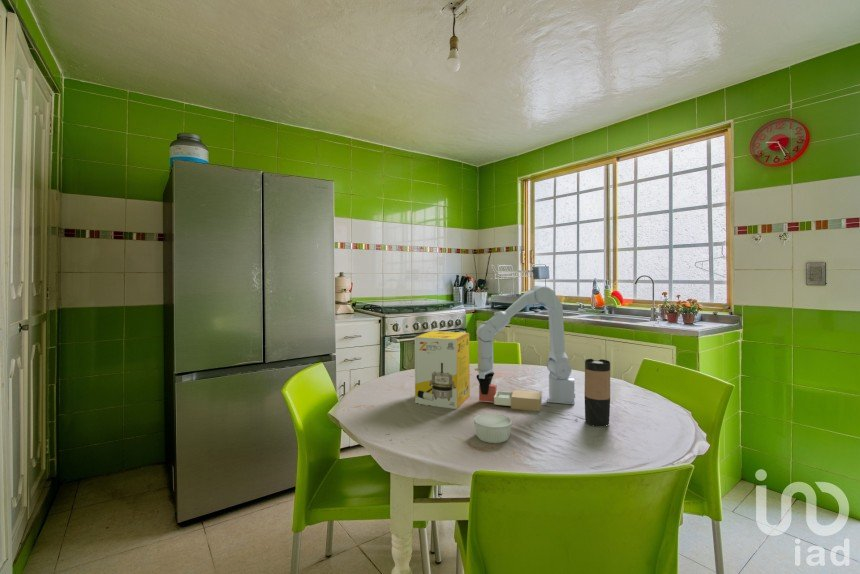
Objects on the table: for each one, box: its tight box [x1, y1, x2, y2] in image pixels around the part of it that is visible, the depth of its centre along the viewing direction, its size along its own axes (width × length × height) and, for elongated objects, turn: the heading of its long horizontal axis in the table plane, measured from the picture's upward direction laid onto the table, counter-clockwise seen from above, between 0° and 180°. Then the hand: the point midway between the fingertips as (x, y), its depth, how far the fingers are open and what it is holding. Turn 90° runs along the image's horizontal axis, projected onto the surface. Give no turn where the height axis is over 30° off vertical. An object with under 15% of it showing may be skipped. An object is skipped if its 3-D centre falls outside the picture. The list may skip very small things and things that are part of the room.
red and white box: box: [478, 383, 513, 407], centre depth 149 cm, size 15×8×6 cm, turn 72°
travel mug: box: [584, 358, 611, 427], centre depth 129 cm, size 8×8×20 cm
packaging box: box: [414, 330, 471, 410], centre depth 154 cm, size 16×16×25 cm
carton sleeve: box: [510, 389, 543, 412], centre depth 146 cm, size 10×9×4 cm
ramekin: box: [473, 412, 513, 444], centre depth 119 cm, size 11×11×5 cm
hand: (485, 393), depth 151 cm, fingers closed on red and white box, 2 cm apart
